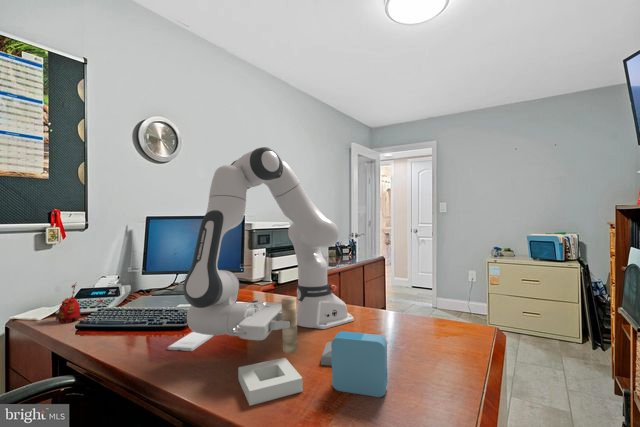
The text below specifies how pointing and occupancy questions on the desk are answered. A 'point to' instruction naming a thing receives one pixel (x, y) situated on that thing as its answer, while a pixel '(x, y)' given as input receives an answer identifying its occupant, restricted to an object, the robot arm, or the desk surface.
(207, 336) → the external hard drive
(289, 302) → the peg
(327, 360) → the keypad
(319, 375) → the desk surface
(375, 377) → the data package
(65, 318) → the red clay folk toy
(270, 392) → the socket
